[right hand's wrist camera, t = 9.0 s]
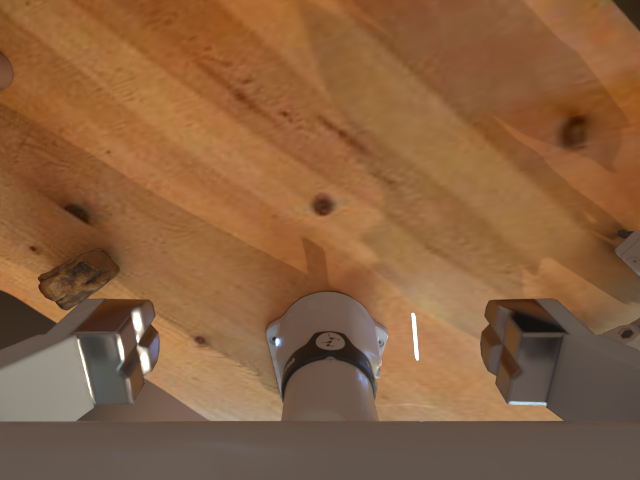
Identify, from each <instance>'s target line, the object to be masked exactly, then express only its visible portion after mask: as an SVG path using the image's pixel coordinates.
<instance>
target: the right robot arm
mask: <svg viewBox="0 0 640 480" xmlns="http://www.w3.org/2000/svg"><path fill="white" fill-rule="evenodd" d="M484 316H485V318H486V319H487V321H488V322H489V325H488V326H487V327H486V328H485V329H484V330H483V331H482V334H481V342H480V347H481V356H482V359H483V362H484V365H485V366H486V368H487V370H488V371H489V372H491V373H492V374H494V375H496V376H497V377H496V383H495V384H496V386H497V387H498V389H499V391H500V392H501V394H502V396H503V398H504V399H505V401H506V403H507V404H513V405H546V407H547V408H548V409H549V410H551V411H552V412H553V413H555V414H556V415H557V416H559V417H560V418H561V419H563V420H564V421H379V418H378V414H377V410H376V406H375V397H376V393H377V382H376V381H375V378H379V377H380V369H378V367H379V366H380V365H381V363H382V359H381V356H382V353H383V350H384V347H385V344H386V341H387V338H388V334H387V330H386V329H385V328H384V327H383V326H381V325H380V324H378V323H377V322H375V321H374V320H373V319H372V318H371V316H370V315H369V313H368V312H367V310H366V309H365V308H364V307H363V306H362V305H361V304H360V303H359V302H358V301H356V300H355V299H353V298H351V297H349V296H347V295H344V294H341V293H336V292H318V293H313V294H310V295H307V296H305V297H303V298H301V299H299V300H298V301H296V302H295V303H294V304H293V305H292V306H291V307H290V308H289V309H288V310H287V312H286V313H285V314H284V315H283V316H282V317H281V318H279V319H277V320H275V321H274V322H272V323H270V324H269V325H268V326H267V328H266V336H267V340H268V345H269V349H270V353H271V357H272V361H273V366H274V370H275V374H276V378H277V382H278V387H279V391H280V395H281V399H282V402H283V410H282V419H281V421H76V420H77V419H79V418H80V417H81V416H83V415H84V414H85V413H87V412H88V411H89V410H91V409H92V408H93V407H94V405H126V404H133V403H134V401H135V399H136V398H137V396H138V394H139V392H140V391H141V389H142V387H143V386H144V384H145V383H144V377H143V376H144V375H146V374H148V373H149V372H151V371H152V370H153V368H154V366H155V364H156V363H157V359H158V355H159V345H160V341H159V334H158V331H157V330H156V329H155V328H154V327H153V326H152V325H151V322H152V321H153V319H154V318H155V311H154V306H153V303H152V302H151V301H150V300H141V299H106V298H104V299H84V300H82V301H81V302H80V303H79V304H78V305H77V306H76V307H75V308H74V309H73V310H72V311H71V312H69V313H68V314H67V315H66V316H65V317H64V318H63V319H62V320H61V321H60V322H59V323H57V324H56V325H55V326H54V327H53V328H52V329H51V330H50V331H49V332H48V333H47V334H45V335H37V336H34V337H32V338H29V339H27V340H24V341H22V342H19V343H17V344H14V345H12V346H9V347H7V348H4V349H2V350H0V480H640V350H638V349H635V348H633V347H631V346H628V345H626V344H623V343H621V342H618V341H616V340H613V339H611V338H608V337H606V336H604V335H595V334H594V333H592V332H591V331H590V330H589V329H588V328H587V327H586V326H585V325H584V324H583V323H582V322H580V321H579V320H578V319H577V318H576V317H575V316H574V315H573V314H572V313H571V312H570V311H569V310H567V309H566V308H565V307H564V306H563V305H562V304H561V303H560V302H559V301H558V300H555V299H552V298H548V299H507V300H490V301H488V304H487V306H486V310H485V315H484ZM412 322H413V334H414V347H415V357H416V360H419V358H418V346H417V333H416V320H415V315H414V313H412ZM273 337H276V339H274V338H273Z"/></svg>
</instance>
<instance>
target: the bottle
mask: <svg viewBox="0 0 640 480" xmlns="http://www.w3.org/2000/svg"><path fill="white" fill-rule="evenodd" d="M12 79H13V70H12V67H11V64H10V62H9V61H8V59H7V58H6V57H5V55H4V54H2V53H1V52H0V90H3V89H5V88H7V87H8V86H9V85H10V83H11V82H12Z"/></svg>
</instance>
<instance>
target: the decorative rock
mask: <svg viewBox="0 0 640 480" xmlns="http://www.w3.org/2000/svg"><path fill="white" fill-rule="evenodd" d="M119 271H120V270H119V267H118V266H117V265H116V264H115V263H114V262H113V261H112V260H111V258H110V257H109V256H108V255H106V254H105V253H104V252H102V251H101V250H100V249H99V248H98V249H95V250H93V251H91V252H86V253H83V254H81V255H79V256H78V257H75V258H73V259H72V260H70V261H69V262H68V263H67V264H63V265H60V266H58V267H56V268H54V269H52V270H51V271H49V272H47V273H44V274H41V275H40V276H39V277H38V280H39V281H40V284H39V289H40V291H41V293H42V294H43V295H44V296H45V298H48V299H50V300H52V301H55V302H56V304H57V305H58V306H59V307H60V308H61V309H63V310H70V309H71V308H72V307H74V306H75V305H77V304H79V303H80V302H81V301H82V300H84V299H87V298H88V297H89V296H90V295H92V294H93V293H95V292H96V291H98V290H99V289H100V288H102V287H103V286H104V285H105V284H106V283H108V282H109V281H110V280H111V279H112V278H114V277H115V276H116V275H117V274H118V273H119Z"/></svg>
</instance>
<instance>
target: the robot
mask: <svg viewBox="0 0 640 480" xmlns="http://www.w3.org/2000/svg"><path fill="white" fill-rule="evenodd" d="M617 235H618V236H620V237H622V238H625V239H626V240H624V241H623V242H622V243H621V244H620V245H619V246H618V247H617V248H616V249H615V252H616V254H617V255H618V256H619V257H620V258H621V259H622V260H623V261H624V262H625V263H626V264H627V265H628V266H629V267H630V268H631V269H632V270H633V271H634V272H635V273H636V274H637V275H638V276H639V277H640V231H634V232H633V231H629V232H628V231H626V230H619V231H618V233H617ZM601 335H604V336H606V337H608V338H611V339H613V340H616V341H618V342H621V343H623V344H626V345H628V346H631V347H633V348H635V349H638V350H640V318H639V319H637V320H636V321H634V322H632V323H631V324H629V325H624V326H619V327H617V328H614V329H612V330H609V331H607V332H605V333H603V334H601Z"/></svg>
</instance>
